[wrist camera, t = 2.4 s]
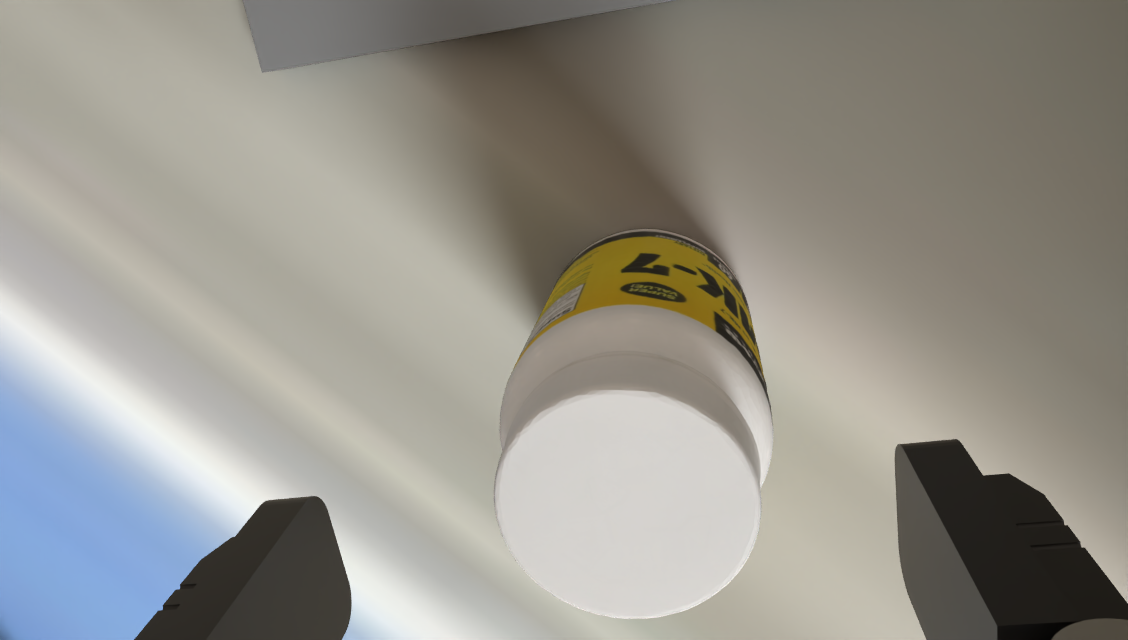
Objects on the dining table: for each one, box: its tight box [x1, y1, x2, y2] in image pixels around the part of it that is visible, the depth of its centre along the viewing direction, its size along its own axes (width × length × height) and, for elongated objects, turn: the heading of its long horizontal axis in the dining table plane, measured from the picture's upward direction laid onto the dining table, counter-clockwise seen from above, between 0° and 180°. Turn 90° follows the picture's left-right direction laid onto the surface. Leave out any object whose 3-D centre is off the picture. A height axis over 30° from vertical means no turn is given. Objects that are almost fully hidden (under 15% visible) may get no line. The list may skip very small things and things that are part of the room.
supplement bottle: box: [494, 229, 773, 619], centre depth 17 cm, size 5×5×8 cm
